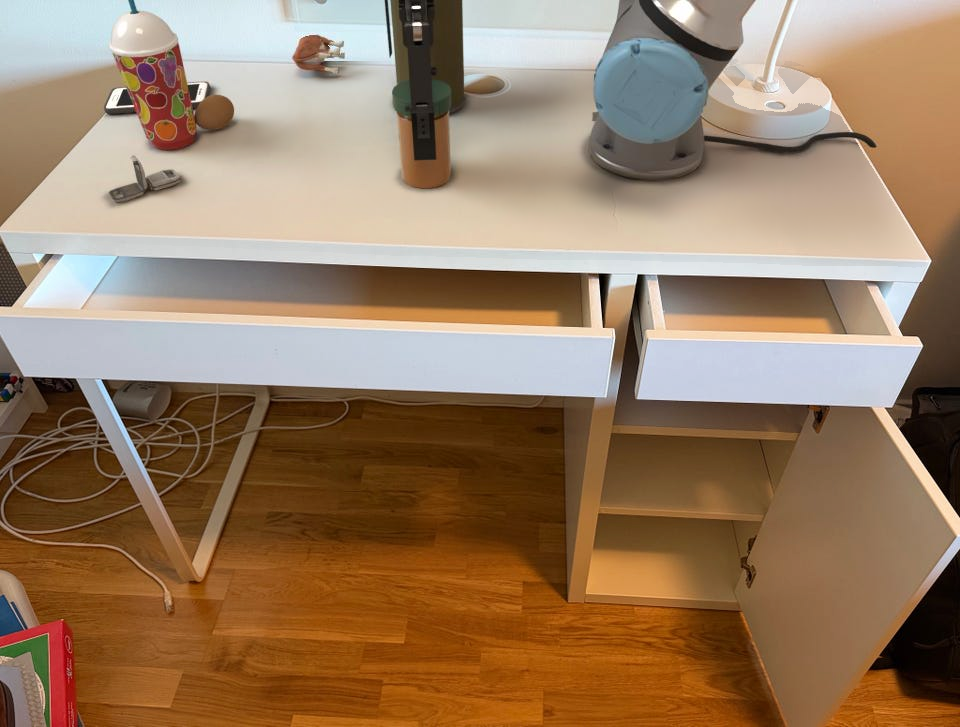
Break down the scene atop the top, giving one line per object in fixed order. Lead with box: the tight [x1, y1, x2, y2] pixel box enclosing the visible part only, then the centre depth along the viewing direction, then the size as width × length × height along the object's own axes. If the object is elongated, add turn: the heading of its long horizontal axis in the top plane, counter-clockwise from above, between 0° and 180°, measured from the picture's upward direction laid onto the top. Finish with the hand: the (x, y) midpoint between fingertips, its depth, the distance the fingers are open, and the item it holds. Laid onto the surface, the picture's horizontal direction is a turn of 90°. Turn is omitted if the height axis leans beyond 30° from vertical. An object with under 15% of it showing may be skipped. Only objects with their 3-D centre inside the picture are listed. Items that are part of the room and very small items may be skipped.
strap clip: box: [108, 154, 181, 203], centre depth 95 cm, size 8×3×4 cm, turn 126°
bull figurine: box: [291, 34, 346, 74], centre depth 122 cm, size 4×13×8 cm
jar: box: [396, 110, 452, 189], centre depth 95 cm, size 6×6×10 cm
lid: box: [391, 79, 451, 117], centre depth 91 cm, size 7×7×2 cm
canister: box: [384, 0, 467, 115], centre depth 107 cm, size 11×10×20 cm
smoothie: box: [108, 0, 198, 151], centre depth 98 cm, size 8×8×20 cm
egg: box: [194, 94, 235, 131], centre depth 107 cm, size 4×4×6 cm
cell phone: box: [103, 81, 211, 115], centre depth 114 cm, size 8×15×1 cm, turn 100°
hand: (424, 143), depth 95 cm, fingers closed on lid, 7 cm apart
